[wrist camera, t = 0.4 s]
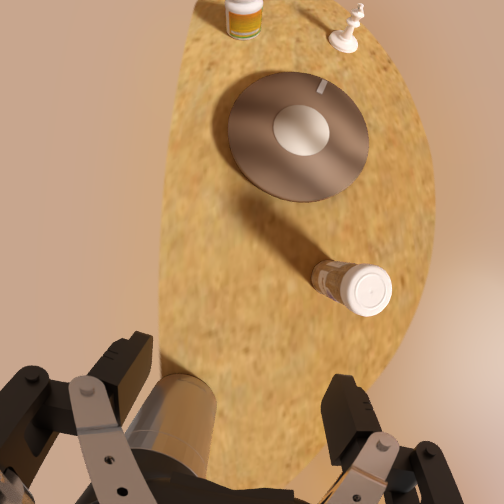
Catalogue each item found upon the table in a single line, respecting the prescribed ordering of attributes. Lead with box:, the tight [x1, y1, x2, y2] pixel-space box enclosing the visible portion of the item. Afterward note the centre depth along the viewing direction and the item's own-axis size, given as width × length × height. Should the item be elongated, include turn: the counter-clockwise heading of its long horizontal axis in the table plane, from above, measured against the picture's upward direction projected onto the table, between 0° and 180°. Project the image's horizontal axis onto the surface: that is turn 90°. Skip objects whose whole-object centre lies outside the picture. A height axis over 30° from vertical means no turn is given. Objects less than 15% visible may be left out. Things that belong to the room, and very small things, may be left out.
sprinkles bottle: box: [311, 260, 392, 316], centre depth 30 cm, size 5×4×13 cm
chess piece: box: [329, 4, 364, 53], centre depth 32 cm, size 5×5×10 cm
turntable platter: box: [228, 72, 369, 202], centre depth 34 cm, size 18×18×2 cm
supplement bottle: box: [225, 0, 263, 40], centre depth 31 cm, size 5×5×10 cm
